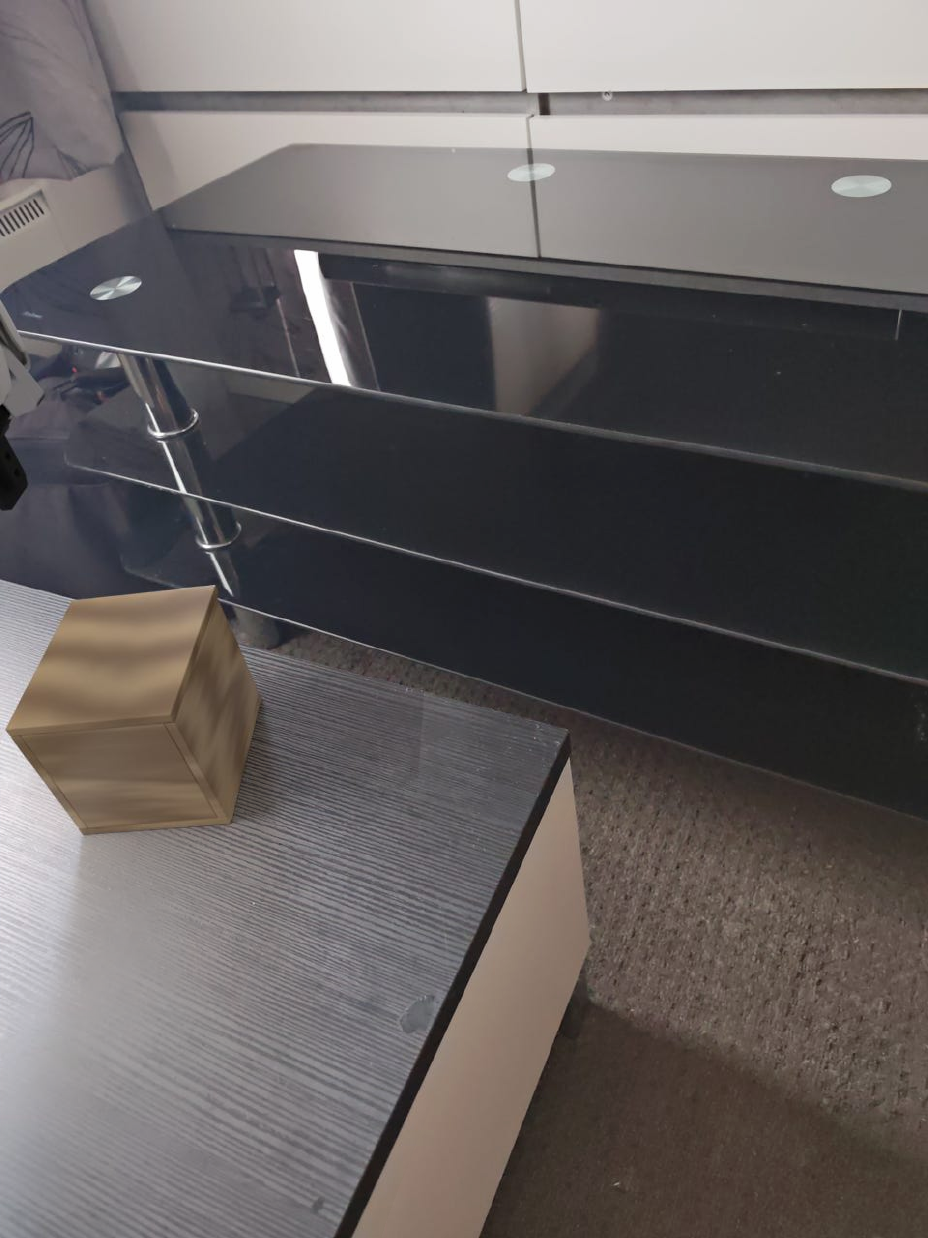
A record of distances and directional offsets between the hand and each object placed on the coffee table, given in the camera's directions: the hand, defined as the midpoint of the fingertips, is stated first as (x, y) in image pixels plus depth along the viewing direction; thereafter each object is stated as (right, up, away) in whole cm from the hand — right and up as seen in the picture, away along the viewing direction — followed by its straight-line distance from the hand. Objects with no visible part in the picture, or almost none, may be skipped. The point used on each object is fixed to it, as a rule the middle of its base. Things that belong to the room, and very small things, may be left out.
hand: (8, 498), depth 59 cm
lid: (+3, -11, +12) cm, 17 cm away
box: (+4, -20, +20) cm, 29 cm away
